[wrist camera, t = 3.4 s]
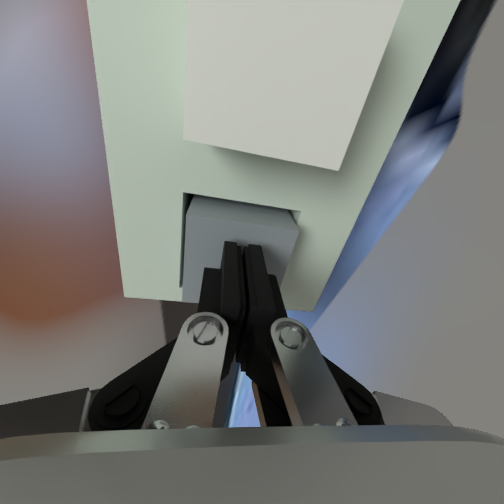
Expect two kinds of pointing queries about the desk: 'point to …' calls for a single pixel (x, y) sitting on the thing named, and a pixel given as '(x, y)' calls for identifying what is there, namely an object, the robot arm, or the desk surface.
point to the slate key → (233, 237)
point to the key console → (228, 160)
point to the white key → (282, 74)
